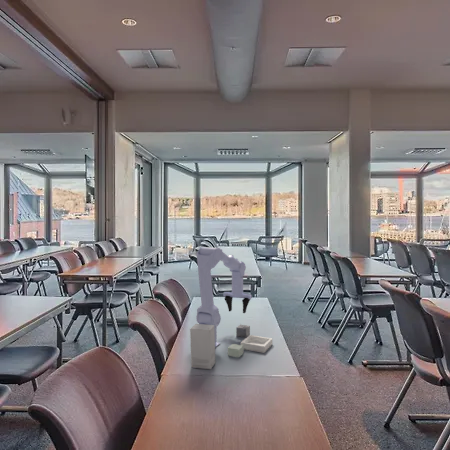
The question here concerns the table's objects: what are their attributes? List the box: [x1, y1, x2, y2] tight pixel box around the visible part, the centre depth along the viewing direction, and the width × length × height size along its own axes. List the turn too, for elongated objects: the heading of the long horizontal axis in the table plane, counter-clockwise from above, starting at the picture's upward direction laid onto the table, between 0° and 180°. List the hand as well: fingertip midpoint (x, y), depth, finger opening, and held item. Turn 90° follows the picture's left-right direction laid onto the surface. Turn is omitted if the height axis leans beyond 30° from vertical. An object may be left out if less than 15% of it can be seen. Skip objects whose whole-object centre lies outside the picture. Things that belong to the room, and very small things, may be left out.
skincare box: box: [189, 323, 216, 370], centre depth 147 cm, size 8×7×16 cm
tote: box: [240, 334, 273, 354], centre depth 167 cm, size 11×11×3 cm
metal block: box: [235, 324, 251, 339], centre depth 182 cm, size 5×5×4 cm
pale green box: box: [227, 343, 244, 358], centre depth 158 cm, size 5×5×4 cm
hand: (237, 311), depth 188 cm, fingers open, 7 cm apart
